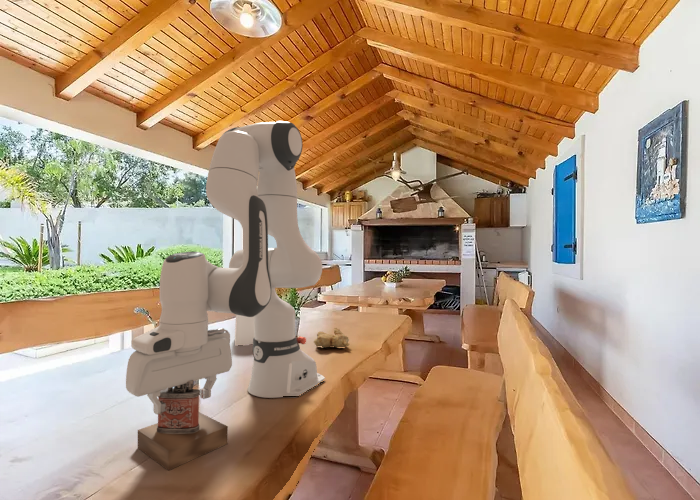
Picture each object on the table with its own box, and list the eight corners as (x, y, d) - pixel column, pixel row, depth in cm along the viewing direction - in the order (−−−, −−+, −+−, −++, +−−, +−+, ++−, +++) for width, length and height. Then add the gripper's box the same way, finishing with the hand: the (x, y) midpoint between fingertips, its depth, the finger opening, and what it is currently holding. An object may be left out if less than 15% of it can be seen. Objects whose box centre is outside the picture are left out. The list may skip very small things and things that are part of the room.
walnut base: (195, 426, 85) (195, 410, 85) (227, 443, 78) (227, 426, 78) (137, 447, 76) (137, 430, 76) (168, 470, 69) (168, 450, 69)
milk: (234, 338, 165) (235, 277, 165) (262, 337, 169) (263, 277, 169) (235, 345, 154) (236, 279, 154) (265, 344, 157) (265, 279, 157)
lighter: (202, 426, 78) (202, 375, 78) (195, 434, 74) (195, 381, 74) (161, 425, 78) (162, 375, 78) (153, 433, 74) (154, 380, 75)
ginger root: (345, 351, 143) (341, 329, 144) (307, 357, 148) (303, 336, 149) (358, 342, 158) (354, 323, 159) (322, 348, 163) (319, 329, 164)
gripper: (221, 324, 87) (220, 386, 87) (122, 341, 71) (121, 417, 71) (238, 328, 83) (237, 393, 83) (137, 347, 67) (137, 427, 67)
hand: (183, 404), depth 77 cm, fingers open, 8 cm apart
